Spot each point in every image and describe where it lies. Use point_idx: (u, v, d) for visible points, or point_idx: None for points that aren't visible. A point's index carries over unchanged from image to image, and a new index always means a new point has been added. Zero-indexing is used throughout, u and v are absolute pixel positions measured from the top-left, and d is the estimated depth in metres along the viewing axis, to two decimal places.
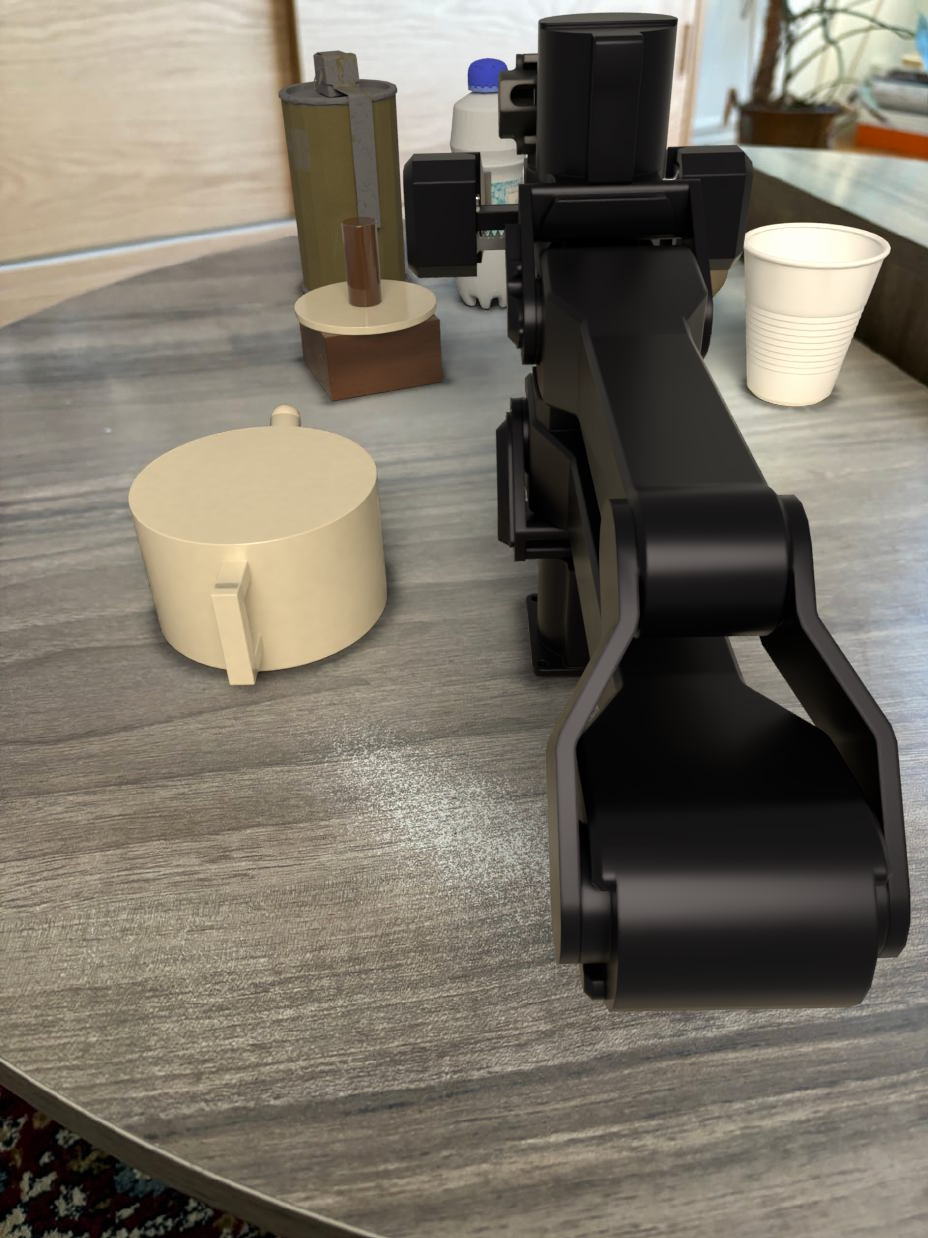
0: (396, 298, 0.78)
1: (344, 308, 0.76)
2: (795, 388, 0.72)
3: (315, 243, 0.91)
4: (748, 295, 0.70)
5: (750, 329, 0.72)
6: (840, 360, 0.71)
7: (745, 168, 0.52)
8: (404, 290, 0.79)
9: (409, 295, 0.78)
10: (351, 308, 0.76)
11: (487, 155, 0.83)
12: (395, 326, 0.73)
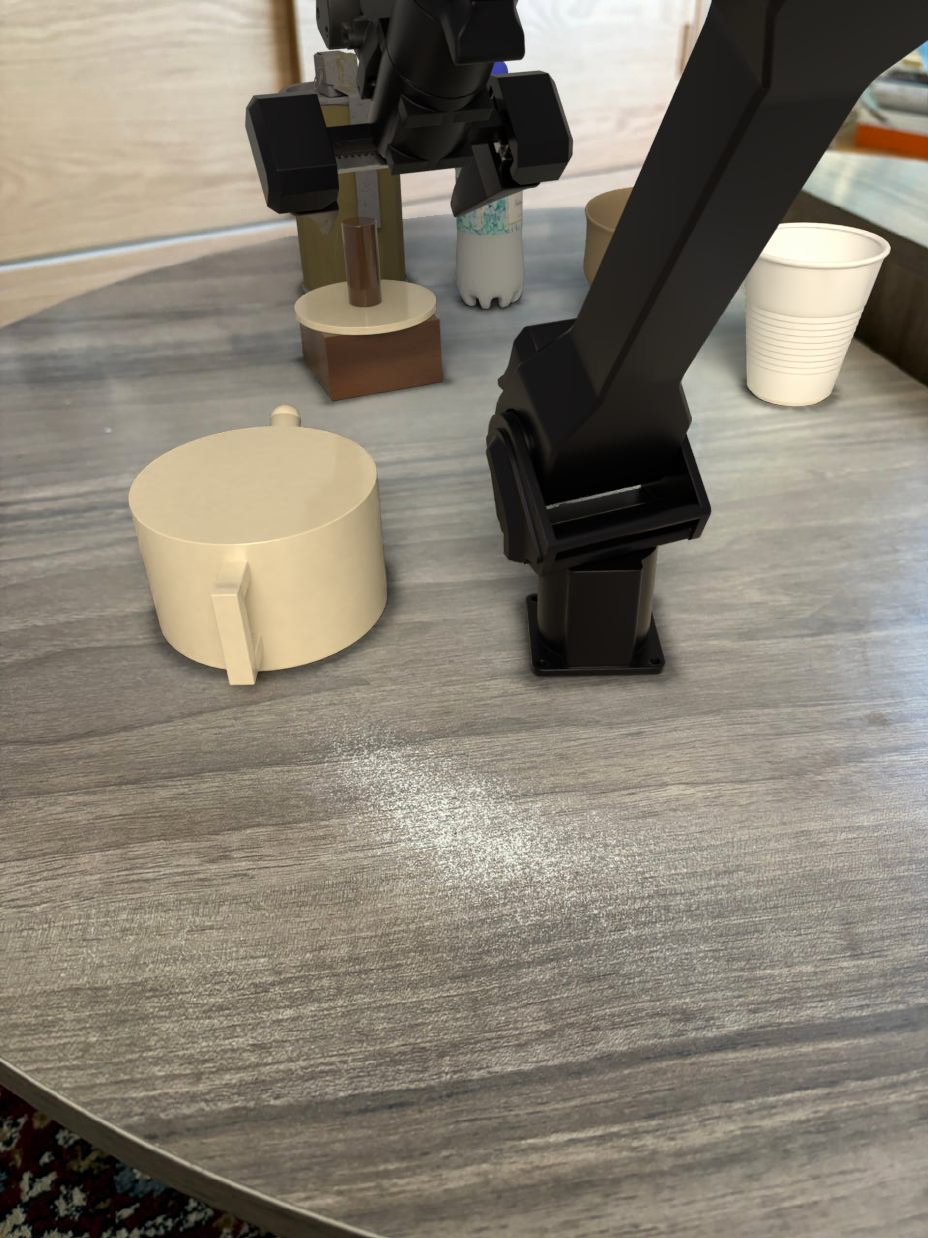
0: (396, 298, 0.78)
1: (344, 308, 0.76)
2: (795, 388, 0.72)
3: (315, 243, 0.91)
4: (748, 295, 0.70)
5: (750, 329, 0.72)
6: (840, 360, 0.71)
7: (545, 72, 0.60)
8: (404, 290, 0.79)
9: (409, 295, 0.78)
10: (351, 308, 0.76)
11: None
12: (395, 326, 0.73)
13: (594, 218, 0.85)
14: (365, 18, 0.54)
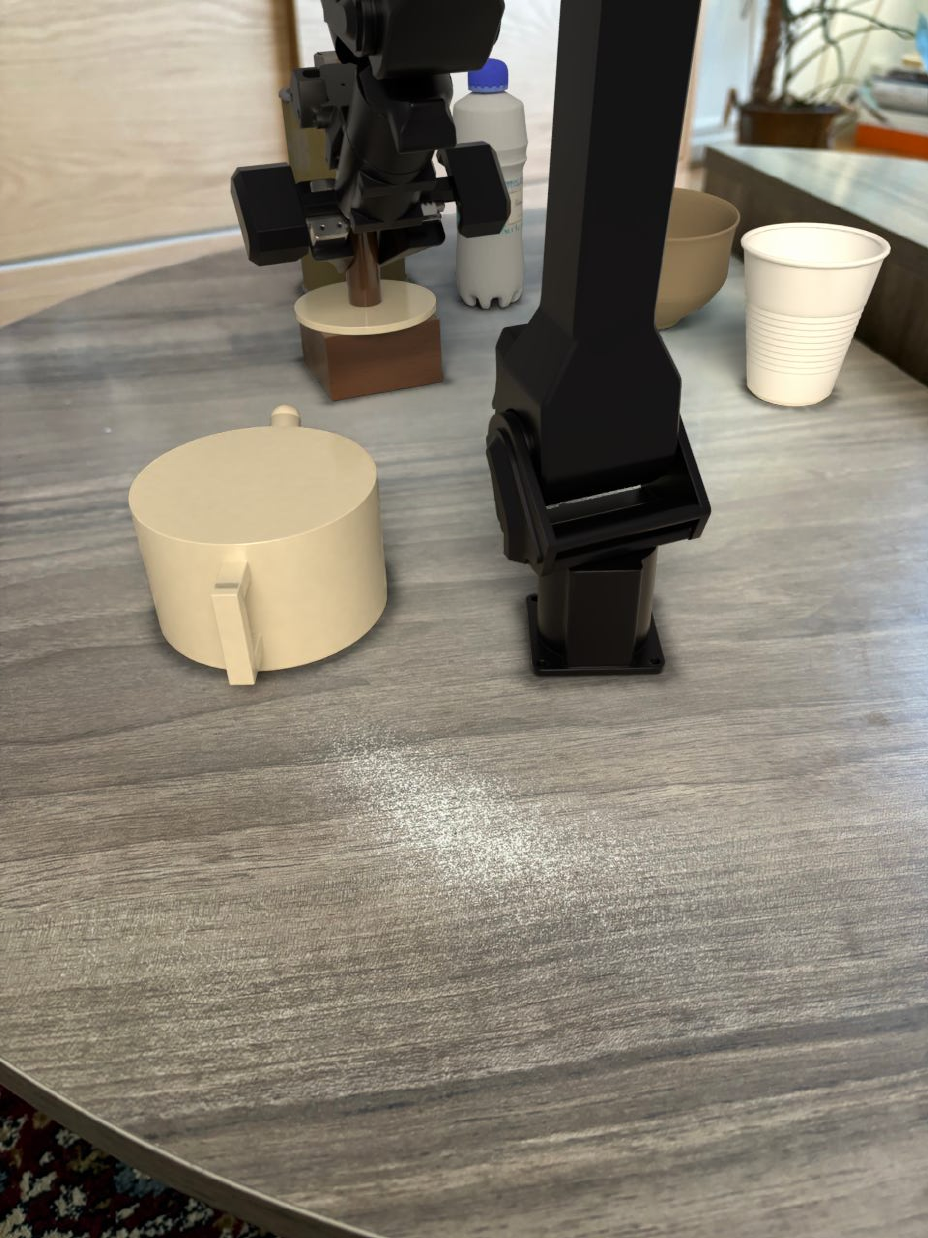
0: (396, 298, 0.78)
1: (344, 308, 0.76)
2: (795, 388, 0.72)
3: None
4: (748, 295, 0.70)
5: (750, 329, 0.72)
6: (840, 360, 0.71)
7: (487, 143, 0.70)
8: (404, 290, 0.79)
9: (408, 295, 0.78)
10: (351, 308, 0.76)
11: None
12: (395, 326, 0.73)
13: None
14: (330, 104, 0.64)
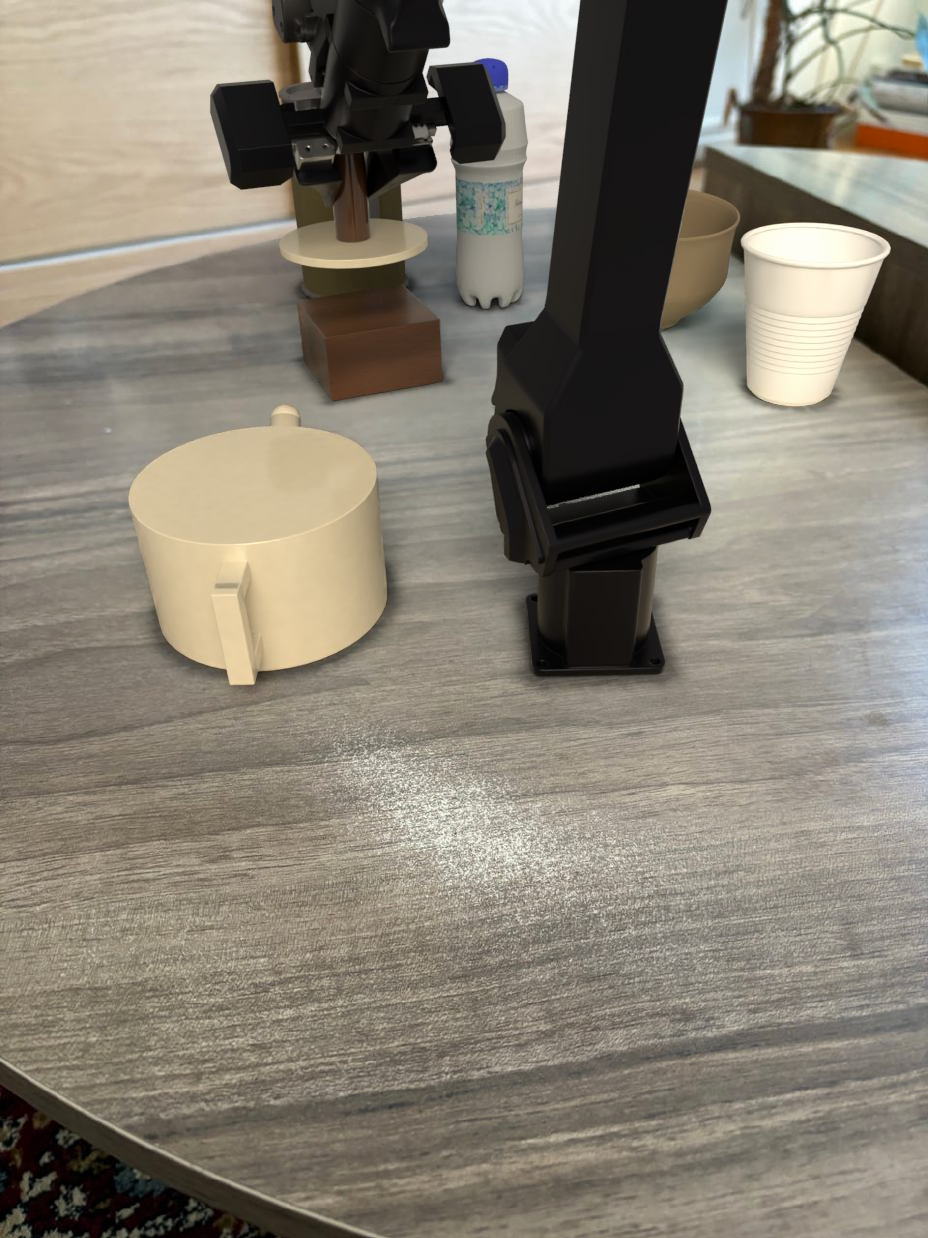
0: (385, 234, 0.74)
1: (331, 243, 0.72)
2: (795, 388, 0.72)
3: None
4: (748, 295, 0.70)
5: (750, 329, 0.72)
6: (840, 360, 0.71)
7: (480, 63, 0.67)
8: (394, 227, 0.76)
9: (399, 231, 0.75)
10: (339, 243, 0.72)
11: None
12: (385, 259, 0.70)
13: None
14: (315, 14, 0.61)
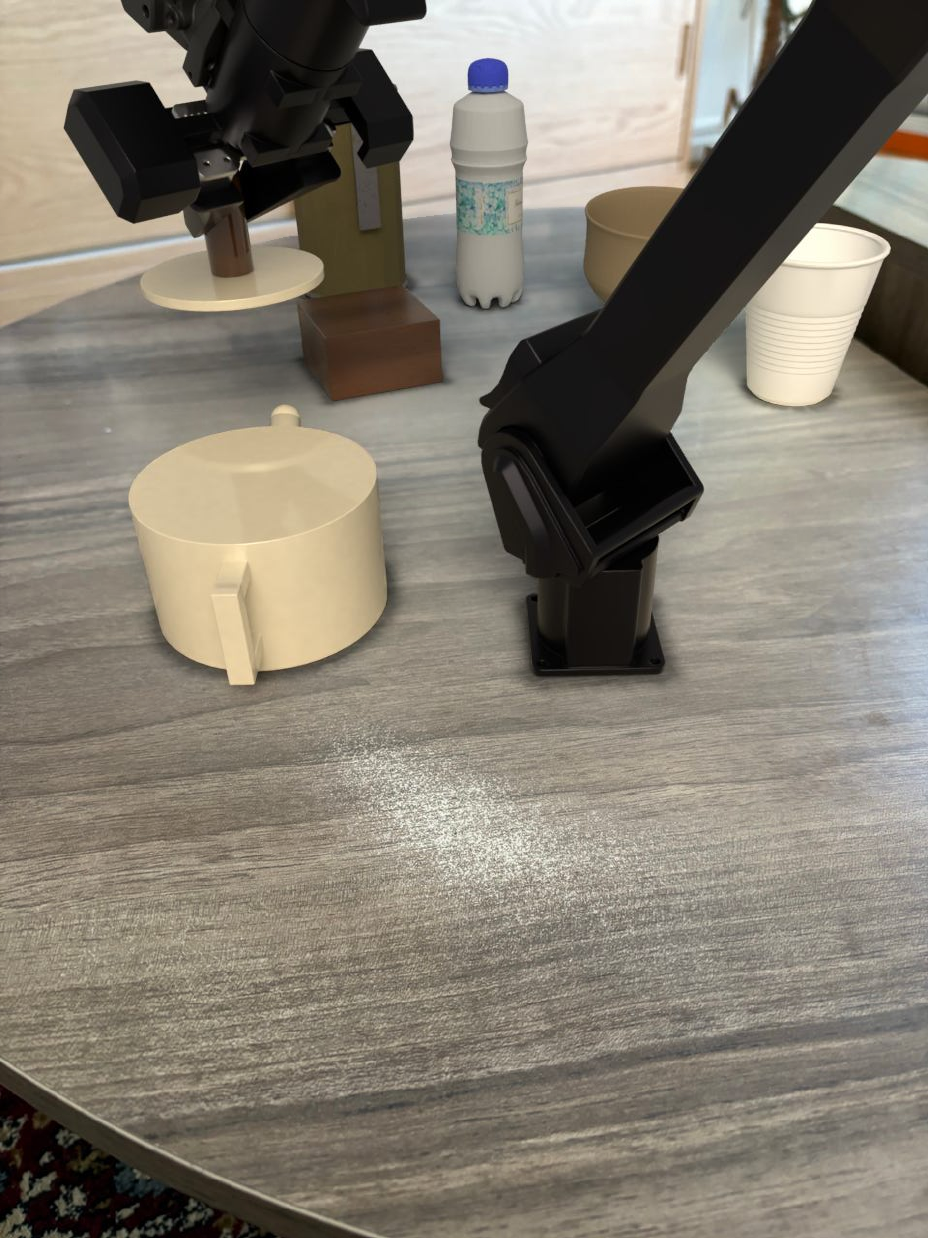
0: (268, 263, 0.62)
1: (212, 281, 0.59)
2: (795, 388, 0.72)
3: (315, 243, 0.91)
4: None
5: (750, 329, 0.72)
6: (840, 360, 0.71)
7: None
8: (269, 254, 0.63)
9: (280, 257, 0.62)
10: (222, 280, 0.59)
11: (487, 155, 0.83)
12: (296, 291, 0.58)
13: (594, 218, 0.85)
14: None
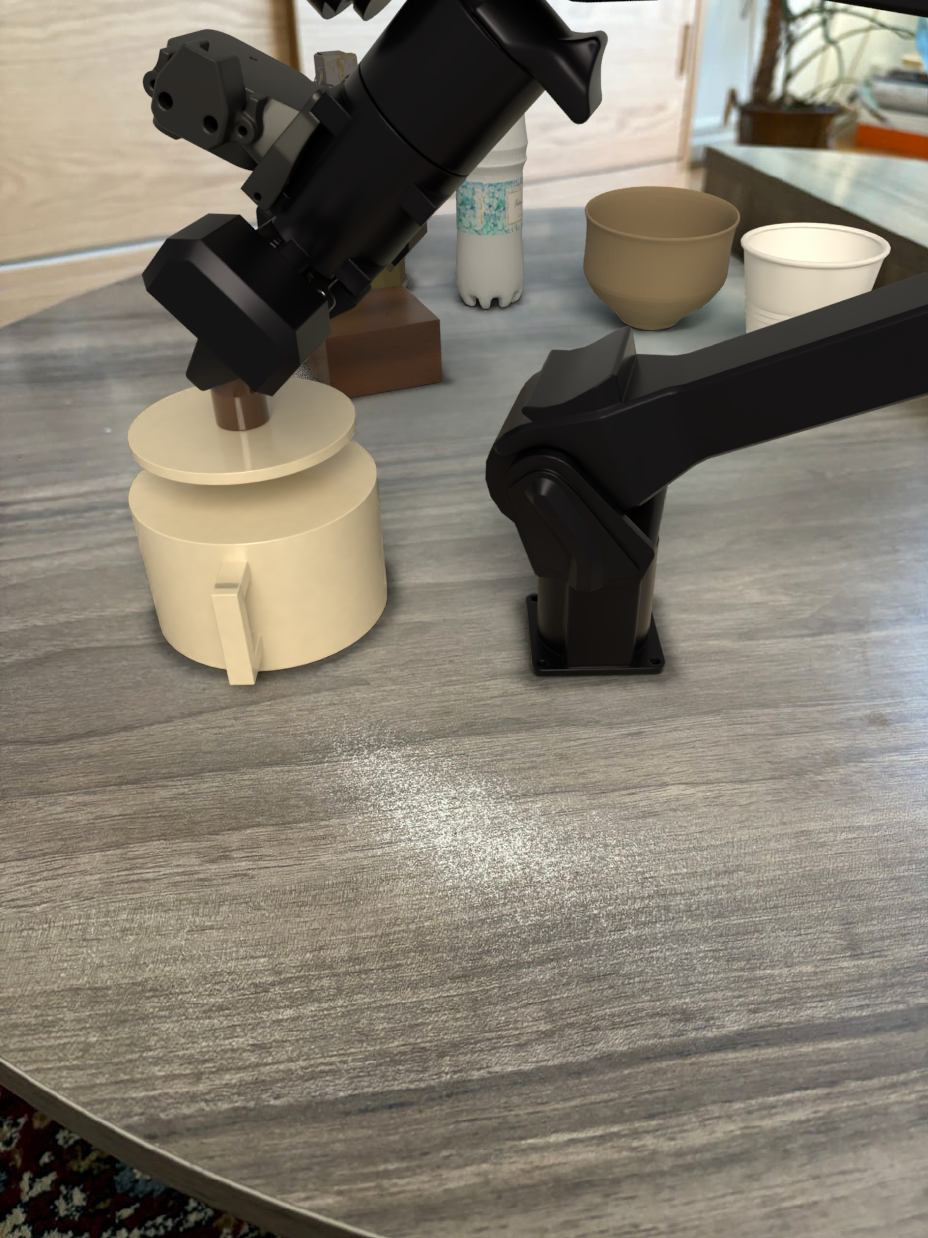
0: (267, 400, 0.50)
1: (240, 438, 0.47)
2: None
3: None
4: (748, 295, 0.70)
5: (750, 329, 0.72)
6: None
7: None
8: None
9: None
10: (250, 434, 0.47)
11: (487, 155, 0.83)
12: (353, 427, 0.48)
13: (594, 218, 0.85)
14: (263, 96, 0.37)
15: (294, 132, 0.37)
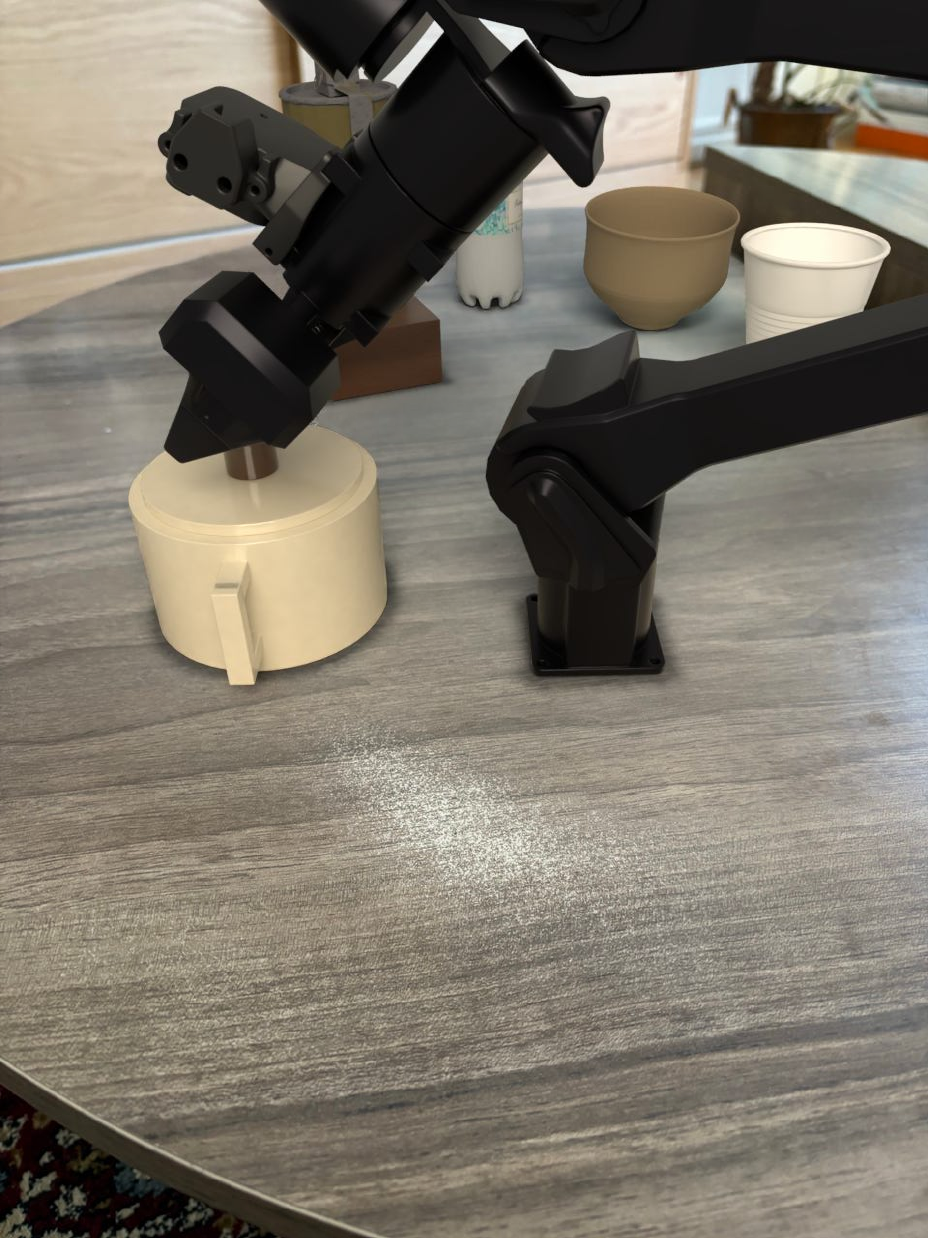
0: (275, 447, 0.52)
1: (250, 488, 0.48)
2: None
3: None
4: (748, 295, 0.70)
5: (750, 329, 0.72)
6: None
7: None
8: None
9: None
10: (260, 483, 0.49)
11: None
12: (360, 476, 0.49)
13: (594, 218, 0.85)
14: (275, 157, 0.38)
15: (305, 191, 0.39)
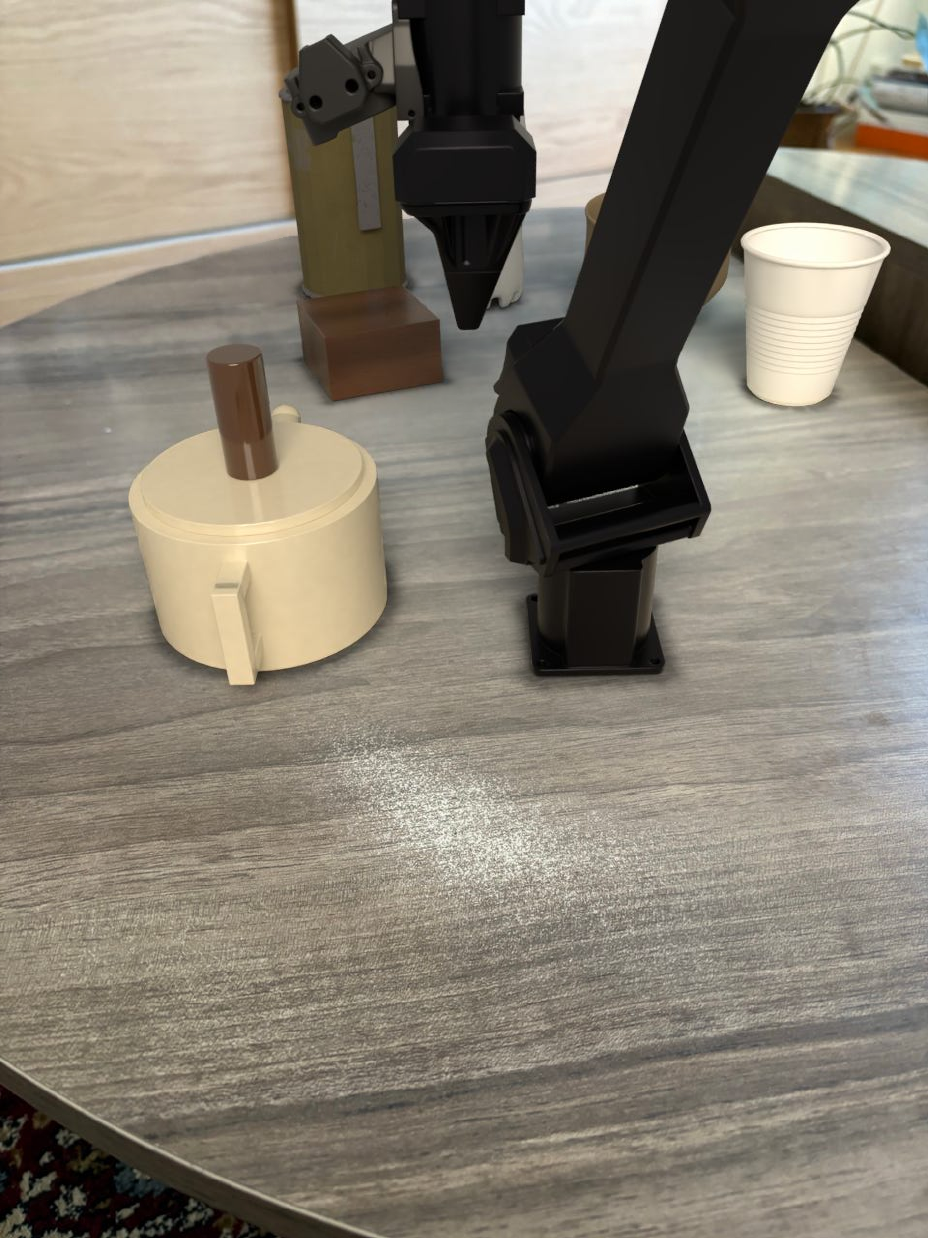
0: (275, 447, 0.52)
1: (250, 488, 0.48)
2: (795, 388, 0.72)
3: (315, 243, 0.91)
4: (748, 295, 0.70)
5: (750, 329, 0.72)
6: (840, 360, 0.71)
7: None
8: None
9: (279, 437, 0.53)
10: (260, 483, 0.49)
11: None
12: (360, 476, 0.49)
13: (594, 218, 0.85)
14: (364, 43, 0.45)
15: (400, 43, 0.45)
